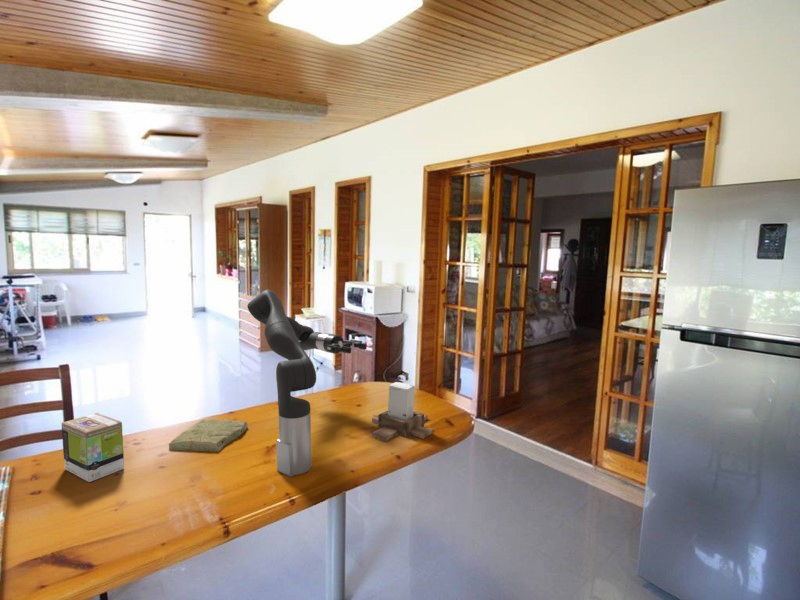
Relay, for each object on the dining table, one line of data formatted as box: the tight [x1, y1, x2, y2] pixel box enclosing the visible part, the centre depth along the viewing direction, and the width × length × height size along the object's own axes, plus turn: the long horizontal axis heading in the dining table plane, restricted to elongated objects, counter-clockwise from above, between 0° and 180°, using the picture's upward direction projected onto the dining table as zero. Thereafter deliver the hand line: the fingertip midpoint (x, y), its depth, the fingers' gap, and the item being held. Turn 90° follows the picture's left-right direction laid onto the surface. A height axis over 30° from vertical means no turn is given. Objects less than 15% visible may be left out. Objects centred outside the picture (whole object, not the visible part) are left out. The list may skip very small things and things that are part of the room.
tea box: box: [61, 412, 125, 483], centre depth 127 cm, size 15×10×15 cm
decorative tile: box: [168, 418, 249, 453], centre depth 150 cm, size 19×20×4 cm
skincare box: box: [387, 381, 416, 421], centre depth 159 cm, size 8×6×15 cm
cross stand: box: [371, 410, 433, 442], centre depth 160 cm, size 26×24×5 cm
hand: (358, 348), depth 165 cm, fingers open, 8 cm apart
